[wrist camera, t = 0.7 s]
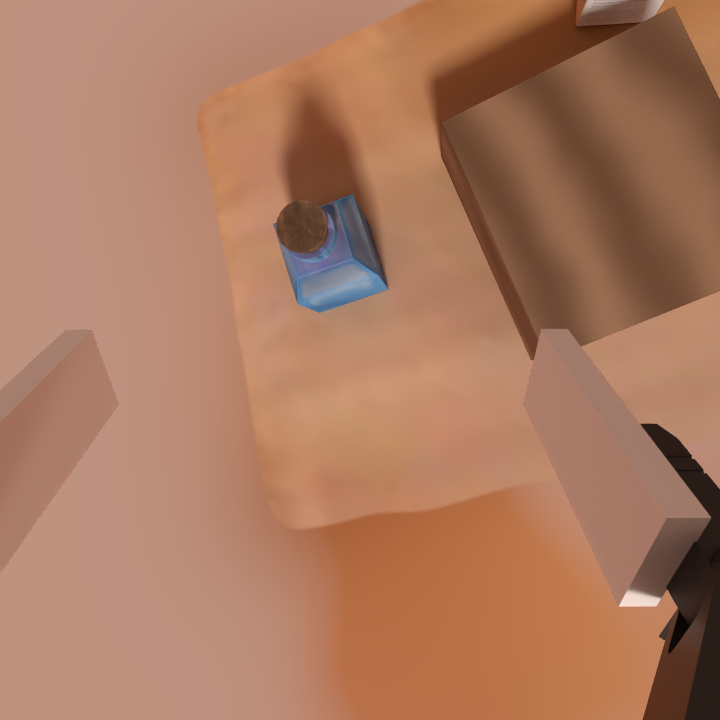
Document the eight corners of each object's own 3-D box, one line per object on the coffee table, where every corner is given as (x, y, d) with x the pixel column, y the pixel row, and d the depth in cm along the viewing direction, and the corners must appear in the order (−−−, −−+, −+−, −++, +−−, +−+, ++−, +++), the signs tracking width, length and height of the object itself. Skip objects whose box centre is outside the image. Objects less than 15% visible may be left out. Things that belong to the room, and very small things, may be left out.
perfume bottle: (298, 244, 40) (239, 196, 28) (366, 219, 39) (334, 158, 27) (319, 312, 40) (268, 292, 28) (388, 289, 39) (366, 258, 27)
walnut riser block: (635, 64, 36) (674, 6, 30) (736, 276, 35) (798, 259, 29) (441, 158, 38) (441, 122, 32) (530, 360, 37) (547, 359, 31)
